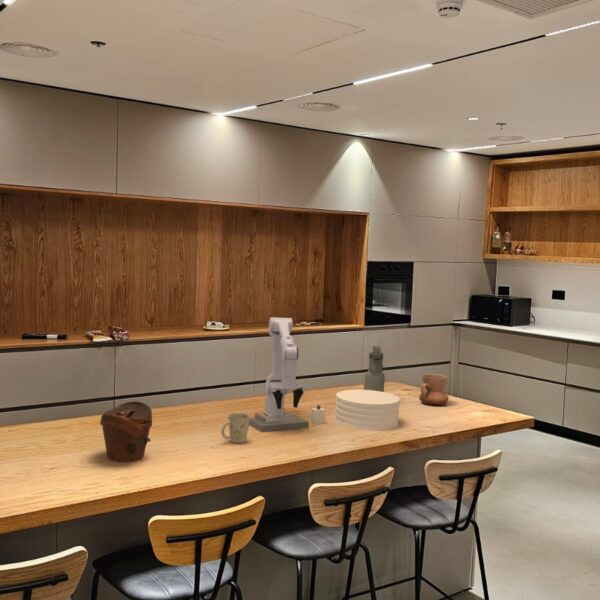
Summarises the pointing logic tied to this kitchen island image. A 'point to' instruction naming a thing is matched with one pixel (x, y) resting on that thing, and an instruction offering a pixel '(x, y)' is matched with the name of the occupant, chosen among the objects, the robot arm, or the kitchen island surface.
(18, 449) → the kitchen island surface
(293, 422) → the socket
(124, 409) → the brown rounded container
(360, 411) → the plate stack
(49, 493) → the kitchen island surface
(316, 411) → the plug
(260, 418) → the block
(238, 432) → the mug
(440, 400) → the ceramic jug
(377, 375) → the grey stone figurine
